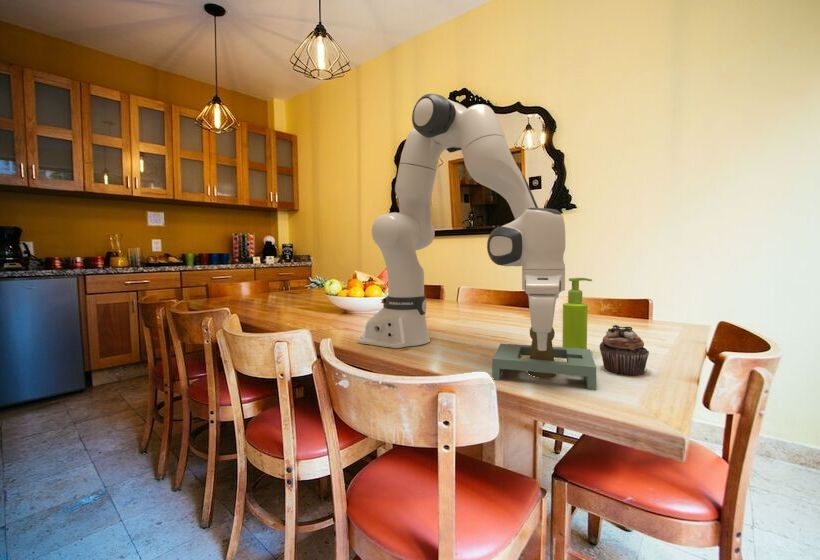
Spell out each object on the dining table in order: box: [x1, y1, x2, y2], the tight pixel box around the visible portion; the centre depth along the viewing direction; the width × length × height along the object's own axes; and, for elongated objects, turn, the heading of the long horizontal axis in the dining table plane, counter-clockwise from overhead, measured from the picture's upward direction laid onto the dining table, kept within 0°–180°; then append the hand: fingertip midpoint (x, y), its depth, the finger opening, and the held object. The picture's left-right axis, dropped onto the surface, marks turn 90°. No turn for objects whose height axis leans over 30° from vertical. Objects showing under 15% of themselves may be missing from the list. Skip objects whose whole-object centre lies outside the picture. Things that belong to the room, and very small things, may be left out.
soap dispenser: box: [562, 277, 593, 349], centre depth 98 cm, size 6×7×20 cm
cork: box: [527, 326, 557, 379], centre depth 82 cm, size 6×6×11 cm
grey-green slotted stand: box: [491, 342, 597, 391], centre depth 83 cm, size 20×14×4 cm
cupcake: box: [599, 324, 650, 377], centre depth 84 cm, size 10×10×10 cm
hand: (542, 344), depth 83 cm, fingers open, 8 cm apart
